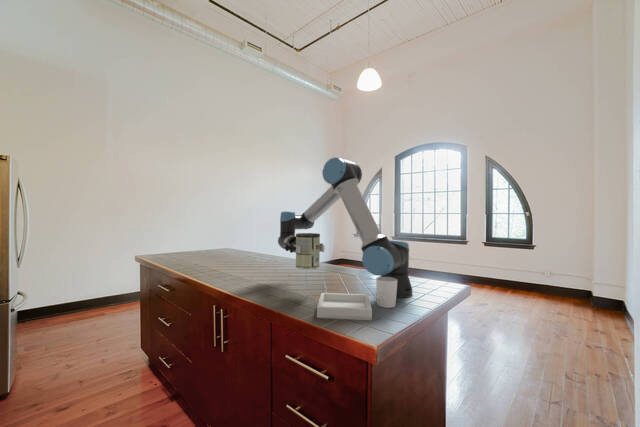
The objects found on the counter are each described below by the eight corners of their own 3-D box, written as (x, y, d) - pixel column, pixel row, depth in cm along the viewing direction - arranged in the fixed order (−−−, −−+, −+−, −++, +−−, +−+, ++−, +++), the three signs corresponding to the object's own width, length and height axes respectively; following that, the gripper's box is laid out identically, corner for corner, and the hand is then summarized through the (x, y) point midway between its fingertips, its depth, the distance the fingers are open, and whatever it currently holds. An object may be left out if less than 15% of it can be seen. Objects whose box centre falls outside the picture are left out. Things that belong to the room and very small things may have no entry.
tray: (367, 303, 112) (367, 294, 112) (371, 320, 94) (372, 309, 94) (321, 301, 113) (321, 292, 113) (316, 317, 95) (317, 307, 95)
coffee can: (297, 264, 128) (298, 232, 128) (320, 265, 127) (321, 233, 127) (293, 268, 118) (293, 234, 118) (318, 269, 117) (318, 234, 117)
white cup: (397, 303, 112) (398, 277, 113) (396, 309, 105) (396, 282, 105) (377, 301, 115) (377, 276, 115) (374, 307, 108) (374, 280, 108)
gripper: (315, 250, 144) (335, 257, 123) (270, 252, 134) (285, 259, 114) (315, 235, 144) (336, 239, 123) (270, 236, 134) (285, 240, 114)
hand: (311, 249), depth 119 cm, fingers closed on coffee can, 10 cm apart
